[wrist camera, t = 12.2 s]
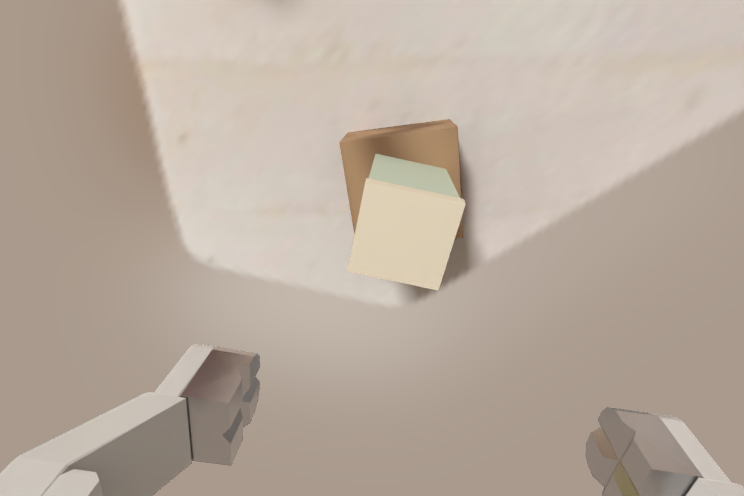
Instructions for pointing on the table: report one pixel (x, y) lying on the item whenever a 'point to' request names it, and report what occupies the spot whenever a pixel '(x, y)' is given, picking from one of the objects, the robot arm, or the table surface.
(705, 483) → the robot arm
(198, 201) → the table surface
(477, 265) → the table surface
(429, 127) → the walnut block
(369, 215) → the tea tin
